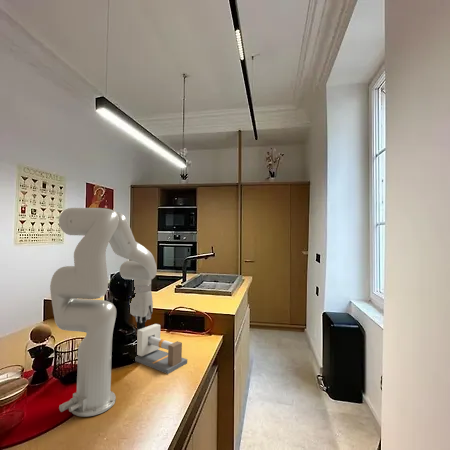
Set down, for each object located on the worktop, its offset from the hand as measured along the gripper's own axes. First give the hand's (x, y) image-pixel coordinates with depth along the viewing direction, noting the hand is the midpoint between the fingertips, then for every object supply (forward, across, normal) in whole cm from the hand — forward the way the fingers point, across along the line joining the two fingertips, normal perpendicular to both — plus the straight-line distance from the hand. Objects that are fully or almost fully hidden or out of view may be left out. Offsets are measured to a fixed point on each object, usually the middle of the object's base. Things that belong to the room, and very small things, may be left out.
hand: (140, 331), depth 125 cm
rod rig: (+10, +11, 0) cm, 15 cm away
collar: (+7, +5, 0) cm, 9 cm away
